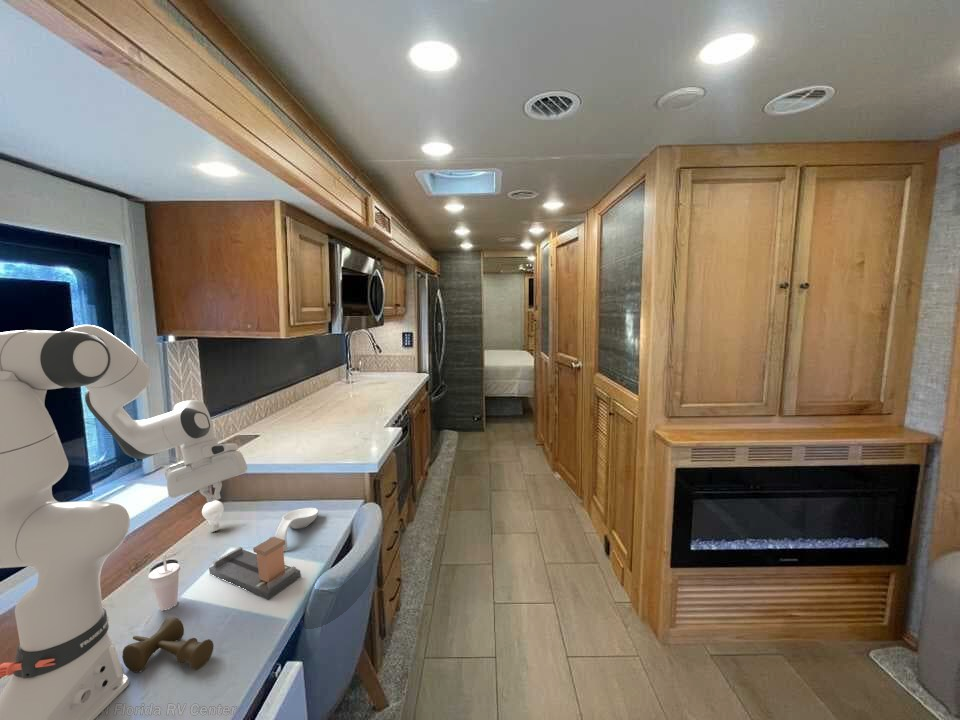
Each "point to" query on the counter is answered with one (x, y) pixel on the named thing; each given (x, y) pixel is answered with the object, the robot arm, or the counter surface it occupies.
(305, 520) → the spoon rest
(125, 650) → the kendama
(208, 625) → the counter surface
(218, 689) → the counter surface
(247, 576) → the fader track
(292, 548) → the counter surface
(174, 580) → the smoothie
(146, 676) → the counter surface
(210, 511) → the lightbulb
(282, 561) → the fader knob
